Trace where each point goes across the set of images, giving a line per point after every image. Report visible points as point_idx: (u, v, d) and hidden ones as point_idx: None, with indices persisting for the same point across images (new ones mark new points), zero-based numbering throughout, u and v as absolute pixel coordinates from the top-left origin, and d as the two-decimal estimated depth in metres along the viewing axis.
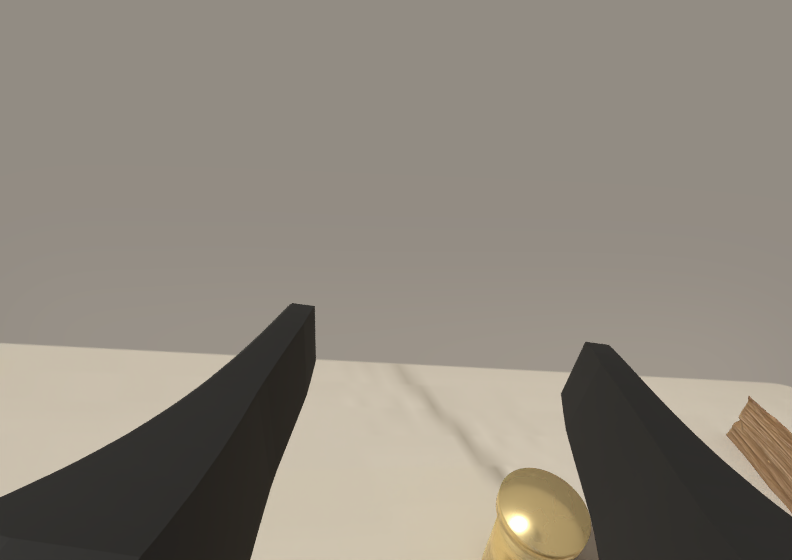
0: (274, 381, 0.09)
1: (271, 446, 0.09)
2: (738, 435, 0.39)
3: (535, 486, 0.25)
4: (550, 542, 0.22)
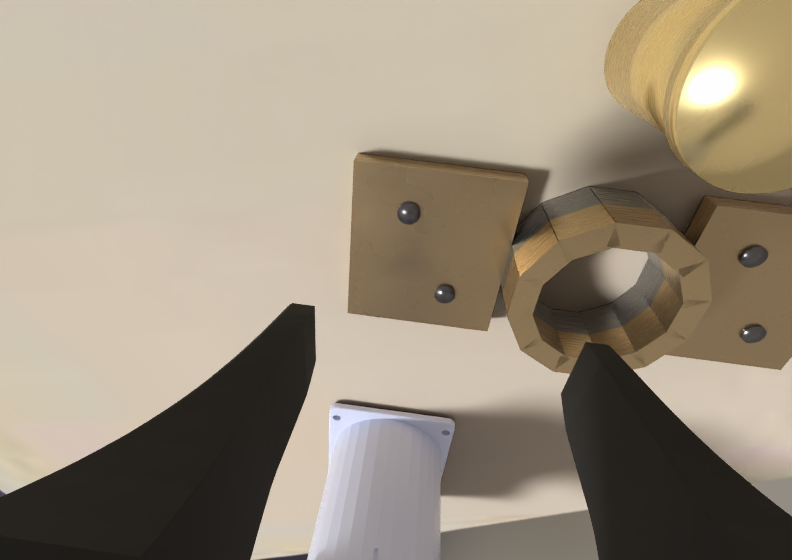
0: (275, 381, 0.09)
1: (271, 446, 0.09)
2: None
3: None
4: (749, 170, 0.11)
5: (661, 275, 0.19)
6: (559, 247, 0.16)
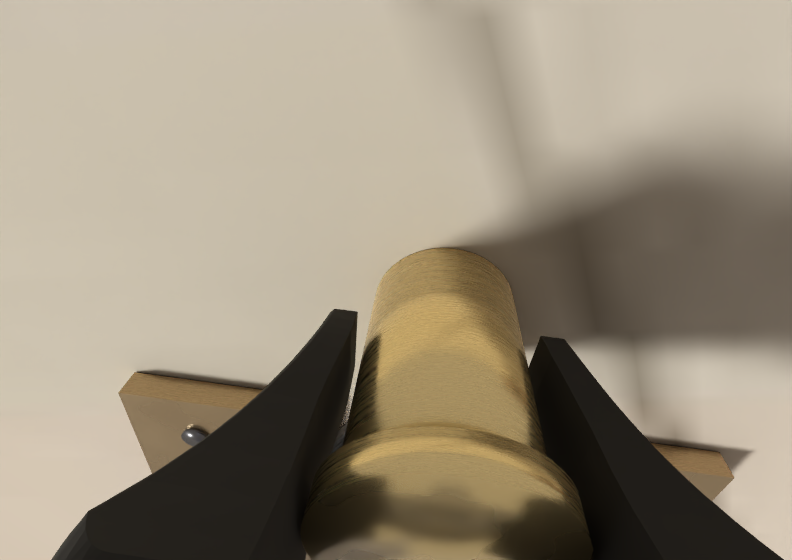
0: (329, 388, 0.09)
1: (322, 453, 0.09)
2: None
3: (438, 517, 0.07)
4: None
5: None
6: None
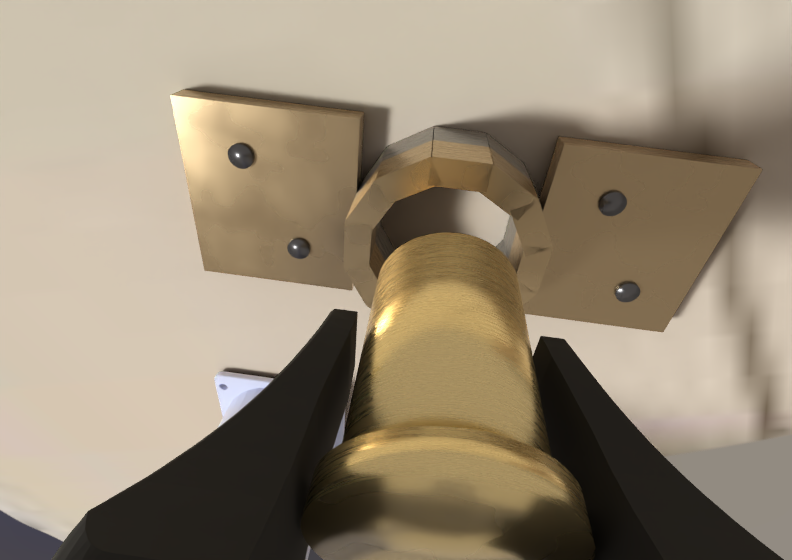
0: (329, 388, 0.09)
1: (322, 453, 0.09)
2: None
3: (439, 516, 0.07)
4: None
5: None
6: (378, 186, 0.15)
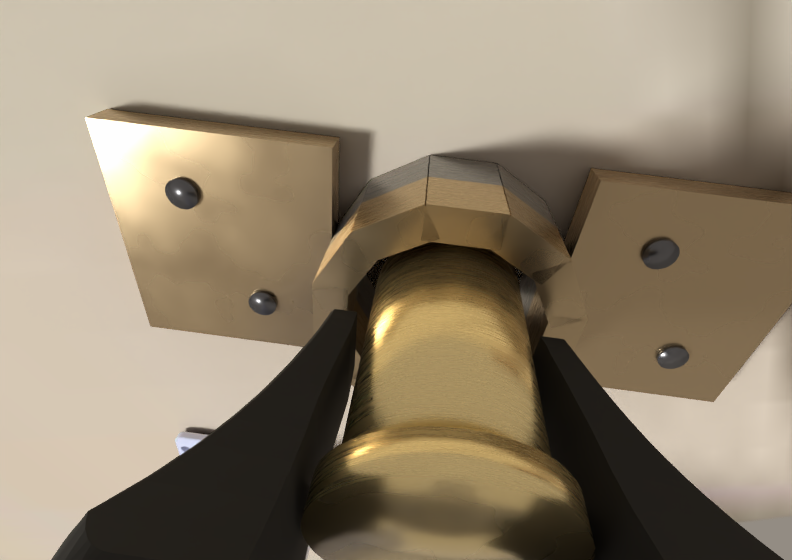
0: (329, 388, 0.09)
1: (322, 453, 0.09)
2: None
3: (438, 516, 0.07)
4: None
5: None
6: (354, 241, 0.11)
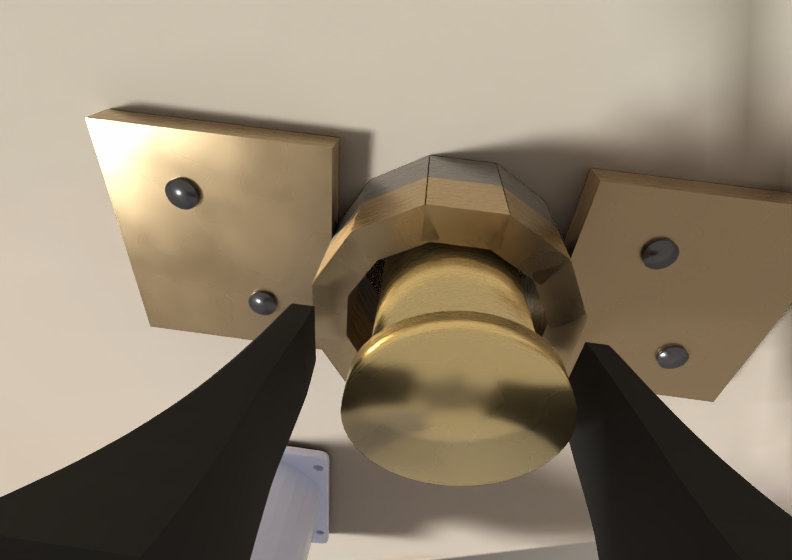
0: (275, 381, 0.09)
1: (271, 446, 0.09)
2: None
3: (454, 384, 0.09)
4: (439, 471, 0.10)
5: None
6: (354, 241, 0.11)
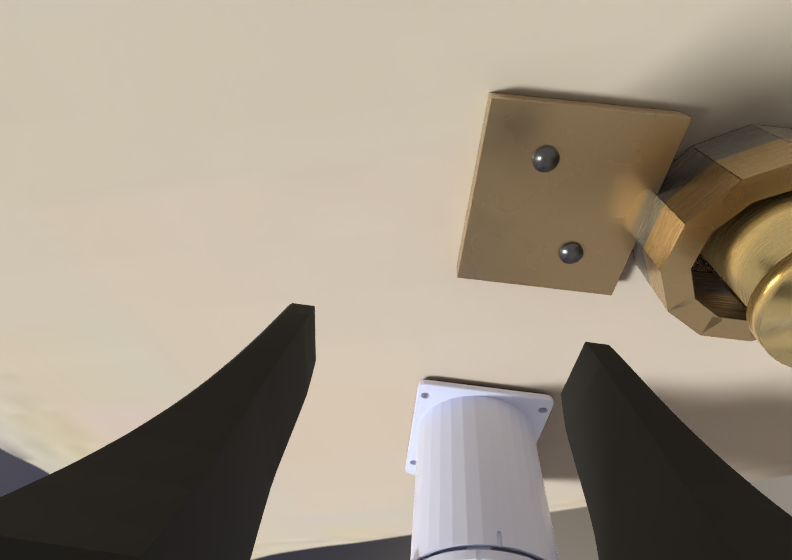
0: (275, 381, 0.09)
1: (271, 446, 0.09)
2: None
3: None
4: None
5: None
6: (741, 187, 0.14)
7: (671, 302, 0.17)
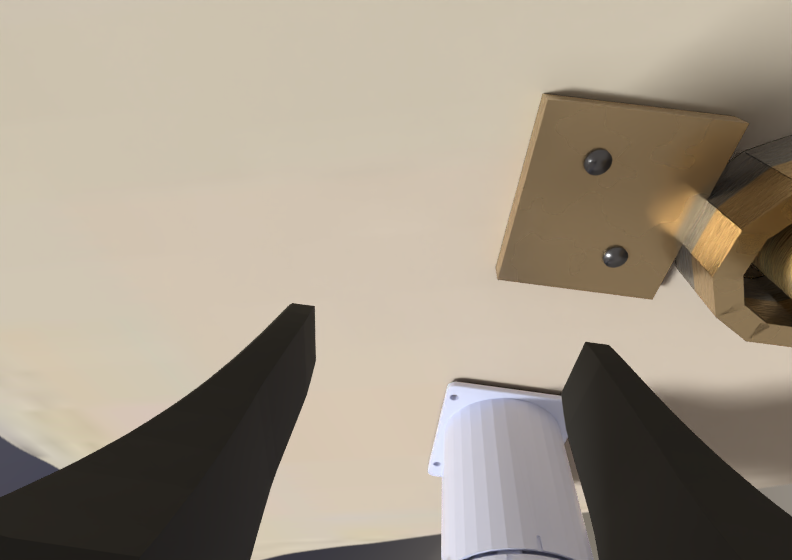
0: (275, 381, 0.09)
1: (271, 446, 0.09)
2: None
3: None
4: None
5: None
6: None
7: (720, 308, 0.17)
